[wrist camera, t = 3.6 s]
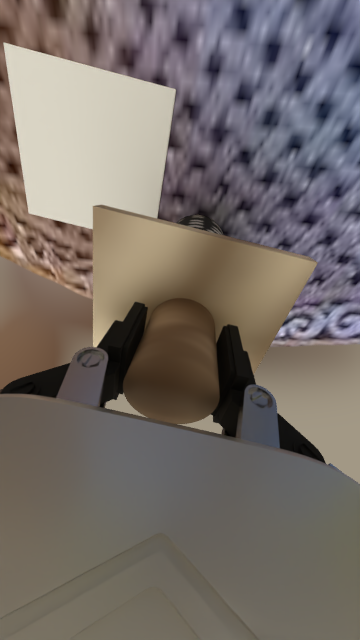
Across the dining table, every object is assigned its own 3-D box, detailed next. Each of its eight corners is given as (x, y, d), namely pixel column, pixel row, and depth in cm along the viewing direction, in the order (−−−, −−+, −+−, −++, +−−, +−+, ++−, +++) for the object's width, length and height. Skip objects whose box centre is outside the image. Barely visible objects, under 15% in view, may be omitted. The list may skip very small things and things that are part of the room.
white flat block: (176, 90, 23) (175, 89, 22) (153, 243, 31) (153, 244, 31) (6, 44, 22) (3, 42, 22) (30, 212, 31) (28, 213, 30)
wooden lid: (309, 257, 11) (395, 315, 6) (235, 392, 17) (248, 479, 12) (101, 204, 11) (10, 219, 6) (98, 360, 17) (52, 436, 12)
